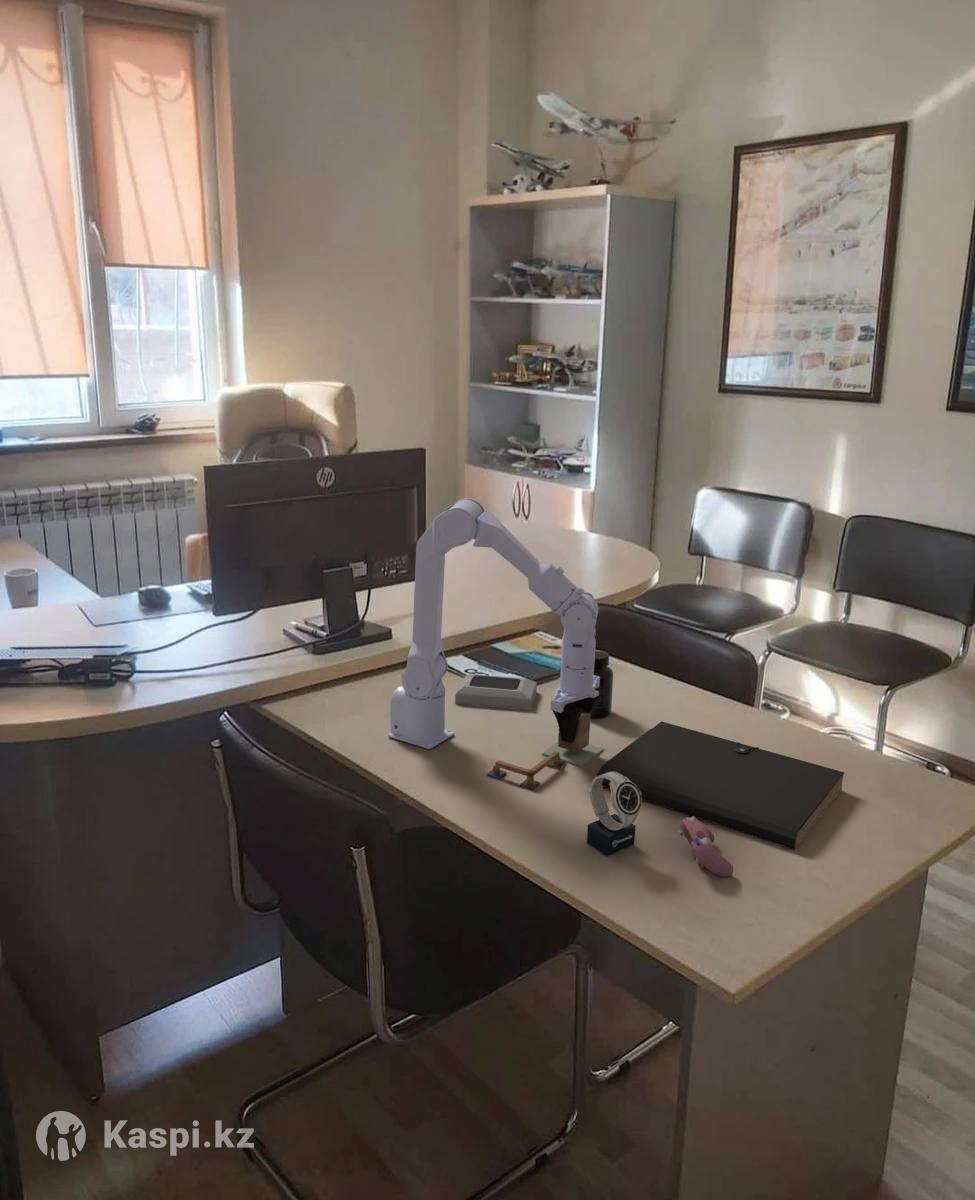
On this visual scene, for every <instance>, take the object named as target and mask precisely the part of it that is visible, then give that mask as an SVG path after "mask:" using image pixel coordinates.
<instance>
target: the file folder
mask: <svg viewBox="0 0 975 1200" xmlns="http://www.w3.org/2000/svg"><path fill="white" fill-rule="evenodd" d="M608 772H617V773H620V774H621V775H623V776H624V777H627V778H628V779H629V780H630V781H631V782H632V783H634V784H635V785H636V786H637V787H638V789H639V791H640V792H641V799H642V801H643V800H644V801H646V802H650V803H653V804H655V805H660V806H661V807H665V808H667V809H670V810H674V811H677V812H679V813H683V814H685V815H689V816H691V817H693V816H694V818H697V819H701V820H704V821H707V822H710V823H713V824H716V825H719V826H721V827H722V826H723V827H725V828H728V829H731V830H734V831H738V832H740V833H743V834H747V835H749V836H752V837H756V838H759V839H761V840H764V841H767V842H771V843H773V844H777V845H780V846H782V847H786V848H789V849H791V850H796V849H795V848H797V846H798V845H799V844H800V843H801V842H802V841H803V839H804V838H805V837H806V836H807V835H808V833H809V832H810V831H811V829H812V828H813V827H814V825H816V823H817V822H818V821H819V819H820V818H821V817H822V816H823V814H824V813H825V812H826V810H827V809H828V808H829V807H830V806H831V804H832V803H833V801H834V800H835V799H836V798H837V796H838V795H839V794H840V792H841V791H842V789H843V788H842V787H843V782H844V775H845V772H844V771H841V770H837V769H833V768H829V767H826V766H822V765H819V764H816V763H813V762H808V761H806V760H801V759H799V758H794V757H790V756H787V755H785V754H784V755H783V754H780V753H776V752H773V751H769V750H766V749H762V748H759V746H755V747H754V746H751V745H747V744H744V743H741V742H739V741H737V742H736V741H733V740H729V739H726V738H723V737H720V736H716V735H712V734H708V733H704V732H701V731H698V730H693V729H690V728H687V727H684V726H680V725H677V724H673V723H672V724H671V723H669V722H666V721H660V722H658V723H657V724H656V725H655V726H653V727H652V728H650V729H648V730H646V731H645V732H644V733H643V734H642V735H640V736H639V737H637V738H636V739H634V741H632V742H631V743H630V744H628V745H627V746H626V747H624V748H622V749H621V750H620V751H619V752H617V753H616V754H615V755H613V756H612V757H611V758H610V759H609V760H607V761H606V762H604V763H603V764H602V765H601V766H600V767H599V769H598V771H597V773H596V776H595V778H596V777H597V776H600V775H602V774H605V773H608ZM610 782H611V781H609V780H608V779H606V778H604V780H603V781H602V787H603V788H608V789H610V784H609V783H610ZM840 790H841V791H840ZM839 791H840V792H839ZM838 793H839V794H838ZM836 795H837V796H836ZM835 797H836V798H835ZM824 811H825V812H824Z"/></svg>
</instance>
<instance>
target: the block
mask: <svg viewBox="0 0 975 1200" xmlns="http://www.w3.org/2000/svg"><path fill="white" fill-rule="evenodd" d="M590 715H591V713H589V712H585V711H583V712H582V713H581V716H580V718H579V721H578V724H577V729H576V736H575V739H574V742H573V743H569V742H565V741H562V739H561V735H560V730H559V729H558V738H557V739H558V741H557V742H558V747H561V748H565V749H568V750H572V751H575V752H579V751H581V750H582V749H583V748H585V747H586V746H587V745H590V730H591V729H590V727H591V719H590Z"/></svg>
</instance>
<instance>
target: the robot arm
mask: <svg viewBox="0 0 975 1200" xmlns="http://www.w3.org/2000/svg"><path fill="white" fill-rule="evenodd" d="M472 540H474V542H473V544H472V547H476V548H491V549H493V550H494V551H495V552H496V553H498V554H499V555H500V556H501V557H503V558H504V559H505V560H506V561H507V562H508V563H509V564H511V565H512V566H513V567H514V568H516V569H517V570H518V571H519V572H520V573H521V574H522V575H524V576H525V577H526V578H527V586H528V589H529V590H530V591H531V592H532V594H534V595H535V596H536V597H537V598H538V599H539V600H541V602H542V603H544V604H545V606H547V607H548V608H549V609H550V610H551V611H552V612H553V613H554V614H556V615H558V616H560V623H561V625H562V627H563V636H562V638H561V656H560V676H559V678H560V679H559V686H558V687H557V690H556V692H555V694H554V696H553V698H552V699H550V711H552V713H553V715H554V717H555V718H556V721H557V726H558V731H559V730H560V735H561V739H562V741H565V742H569V743H573V742H574V739H575V736H576V729H577V724H578V721H579V718H580V716H581V713H582V712H583V711H585V712H589V713H591V715H592V712H593V710H594V708H595V706H596V704H597V702H598V701H599V700H600V694H599V691H597V690H595V688H598V687H599V685H600V677H599V676H595V675H594V662H595V651H596V642H597V641H596V637H595V636H596V634H597V633H596V632H597V631H596V625H597V621H598V620H597V618H598V615H599V605H598V602H597V600H596V599H595V597H594V596H593V594H591V593H590V592H588V591H585V590H584V589H583V588H582V586H580V587H577V586H576V585H575V583H573V582H572V581H571V580H570V579H569V578H568V577H566V575H565V574H564V572H565V570H564V569H563V567H561V566H560V565H558V566H557V567H556V566H555V565H554V564H553V563H546V562H545V563H543V562H540V561H539V560H538V559H537V558H536V556H535V555H533V553H532V552H530V551H529V549H527V548H526V547H525V546H524V545H523V544H522V542H520V540H519V539H517V537H516V536H514V534H512V532H511V531H510V530H509V529H508V528H507V527H506V526H505V525H504V524H503V523H502V522H501V520H500V519H498V518H497V517H496V516H495V514H494V513H493V512H492V511H490V510H488V509H485V508H484V506H483V505H482V504H481V502H479V501H478V500H476V499H474V498H470V497H468V498H467V497H465V498H461V499H459V500H457V501H456V502H454V503H452V504H450V505H449V506H448V507H446V508H445V509H444V510H443V511H442V512H441V513H440V514H438V515H437V516H435V517H434V518H433V520H432V521H431V523H430V525H428V527H427V528H426V530H425V531H424V532H423V533H422V535H421V536H420V538H418V540H417V542H416V546H415V566H414V567H415V568H414V569H415V570H414V571H415V572H414V590H413V591H414V593H413V596H414V597H413V618H412V619H413V620H412V641H411V645H410V647H409V648H410V649H409V652H408V655H407V662H406V663H407V664H406V667H405V669H404V670H403V672H402V673H401V685H399V686H398V687H397V688H396V689H395V690H394V692H393V694H392V696H391V699H390V731H389V733H388V734H387V737H388V738H391V739H394V740H398V741H402V742H405V743H408V744H410V745H411V744H412V745H415V746H417V747H420V748H424V749H426V750H427V749H428V750H430V749H433V748H434V747H436V746H438V745H439V744H441V743H443V742H444V741H446V740H447V739H449V738H451V737H453V736H454V735H455V732H454V730H453V731H452V730H450V729H447V728H445V726H446V725H445V721H446V720H445V714H446V688H445V685H444V684H443V679H442V678H443V677H445V675H446V674H447V671H448V668H449V667H448V666H449V665H448V664H449V663H448V661H447V657H446V656H445V655H446V654H445V652H444V642H443V640H442V624H443V603H444V586H445V585H444V582H445V568H446V567H445V566H446V565H445V564H446V554H447V553H449V552H450V551H451V550H453V549H454V548H458V547H462V546H465V545H466V544H468V543H469V542H472ZM591 715H590V718H591Z"/></svg>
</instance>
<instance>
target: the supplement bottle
mask: <svg viewBox="0 0 975 1200" xmlns="http://www.w3.org/2000/svg"><path fill="white" fill-rule="evenodd" d="M609 665H610V655H609V654H608V653H607V652H605V651H600V650H595V662H594V675H595V676H599V677H600V685H599V687H598V688H595V690H597V691H599V694H600V700H599V701H598V702H597V704H596V706H595V708H594V710H593V712H592V715H591V718H590V720H598V719H599V720H600V719H606V718H607V717H609V716H610V715H611V714H612V706H613V705H612V704H613V689H614V687H613V686H614V672H613V669H612V668H611V667H610V666H609Z"/></svg>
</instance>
